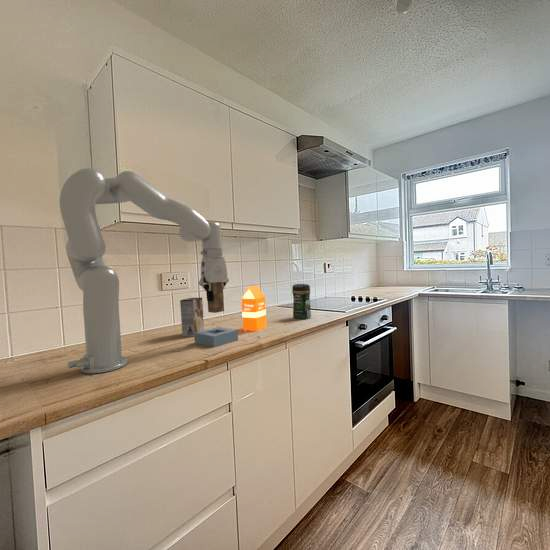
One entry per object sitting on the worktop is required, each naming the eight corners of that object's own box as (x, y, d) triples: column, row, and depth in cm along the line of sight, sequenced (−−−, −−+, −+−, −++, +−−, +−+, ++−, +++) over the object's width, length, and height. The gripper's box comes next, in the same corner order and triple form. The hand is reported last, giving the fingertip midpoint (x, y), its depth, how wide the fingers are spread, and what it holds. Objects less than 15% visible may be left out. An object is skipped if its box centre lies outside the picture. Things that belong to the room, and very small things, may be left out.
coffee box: (191, 331, 139) (189, 297, 139) (204, 331, 138) (202, 297, 138) (181, 336, 130) (179, 299, 130) (195, 336, 129) (193, 299, 129)
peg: (215, 312, 116) (213, 276, 115) (208, 312, 119) (205, 276, 118) (224, 311, 119) (221, 276, 119) (217, 310, 122) (214, 276, 122)
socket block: (214, 347, 111) (213, 336, 111) (195, 342, 118) (194, 332, 118) (238, 340, 120) (237, 330, 120) (218, 336, 128) (218, 327, 127)
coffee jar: (290, 318, 164) (289, 284, 163) (300, 316, 169) (298, 283, 168) (304, 320, 157) (302, 284, 156) (313, 317, 162) (312, 283, 162)
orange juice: (266, 327, 142) (264, 285, 142) (257, 331, 134) (255, 286, 134) (252, 326, 146) (250, 285, 145) (242, 330, 138) (240, 287, 137)
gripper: (200, 253, 109) (203, 303, 110) (234, 253, 122) (237, 297, 123) (188, 254, 114) (191, 302, 115) (222, 254, 127) (225, 297, 128)
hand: (215, 299), depth 119 cm, fingers closed on peg, 4 cm apart
